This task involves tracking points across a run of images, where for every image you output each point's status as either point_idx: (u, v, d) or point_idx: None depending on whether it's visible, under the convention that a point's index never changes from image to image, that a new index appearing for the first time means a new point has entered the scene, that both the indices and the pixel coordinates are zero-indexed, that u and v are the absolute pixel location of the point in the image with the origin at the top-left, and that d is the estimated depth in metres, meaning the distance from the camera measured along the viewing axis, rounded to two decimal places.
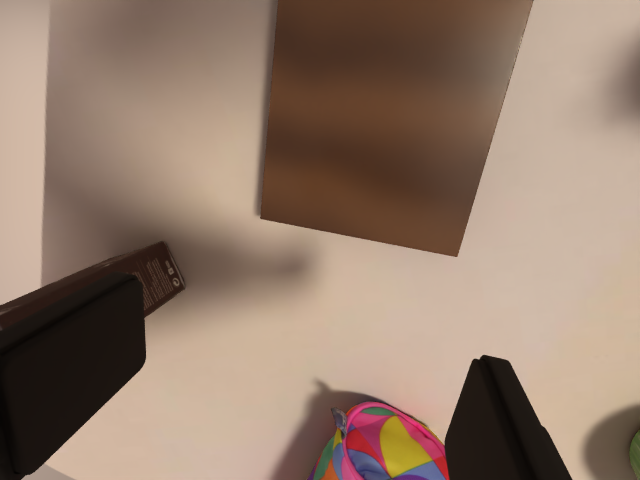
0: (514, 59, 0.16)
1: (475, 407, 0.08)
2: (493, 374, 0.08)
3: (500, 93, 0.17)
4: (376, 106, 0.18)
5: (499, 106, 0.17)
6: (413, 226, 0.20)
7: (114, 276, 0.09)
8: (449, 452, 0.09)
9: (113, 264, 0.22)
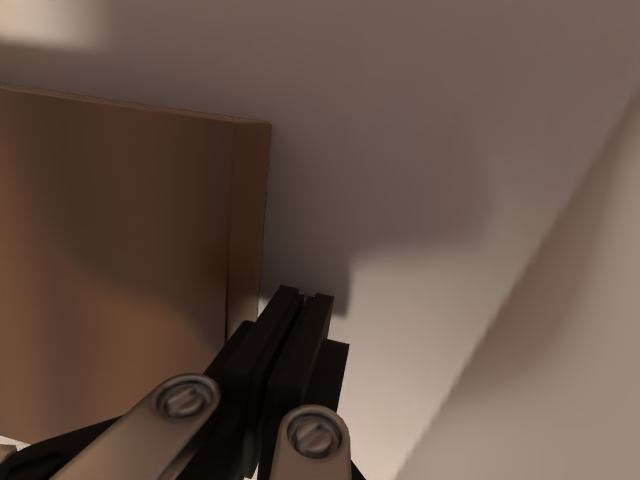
0: None
1: None
2: (312, 304, 0.09)
3: None
4: None
5: None
6: None
7: (285, 290, 0.10)
8: None
9: None
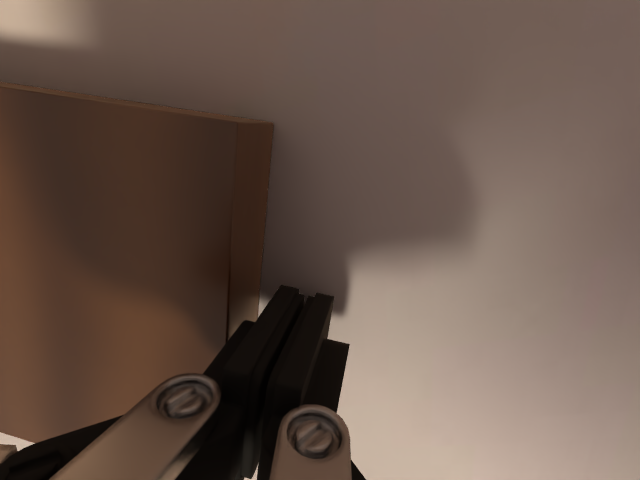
0: None
1: None
2: (312, 304, 0.09)
3: None
4: None
5: None
6: None
7: (285, 290, 0.10)
8: None
9: None
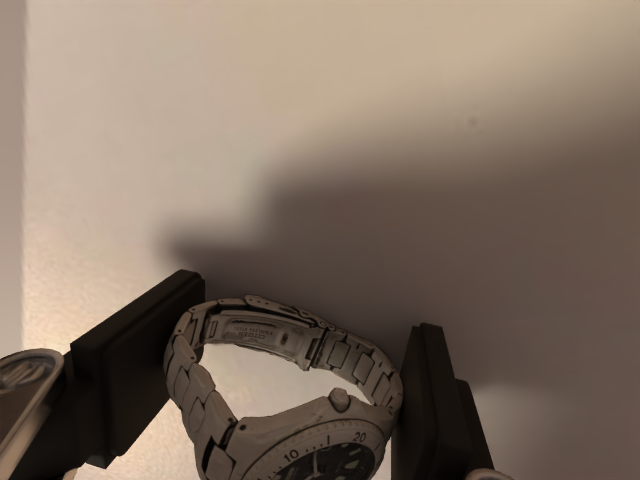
0: None
1: (409, 366, 0.09)
2: (424, 337, 0.09)
3: None
4: None
5: None
6: None
7: (181, 274, 0.10)
8: None
9: None
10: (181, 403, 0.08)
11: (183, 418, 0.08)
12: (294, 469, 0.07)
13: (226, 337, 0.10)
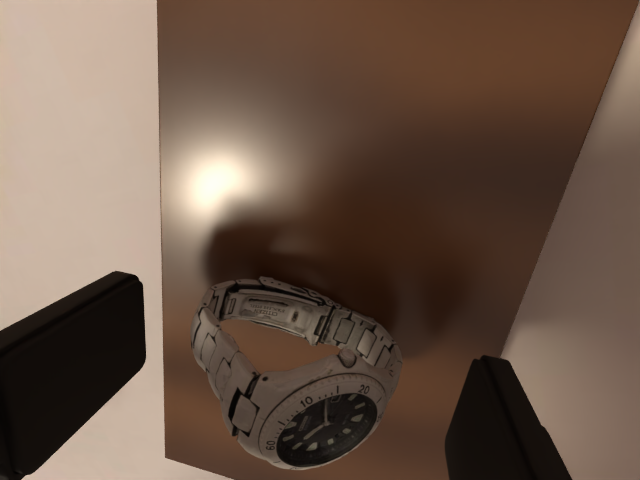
0: (162, 268, 0.13)
1: (475, 407, 0.08)
2: (493, 374, 0.08)
3: (166, 230, 0.12)
4: (338, 225, 0.11)
5: (163, 213, 0.12)
6: None
7: (114, 276, 0.09)
8: (449, 452, 0.09)
9: None
10: (208, 365, 0.09)
11: (210, 378, 0.09)
12: (308, 417, 0.08)
13: (243, 314, 0.11)
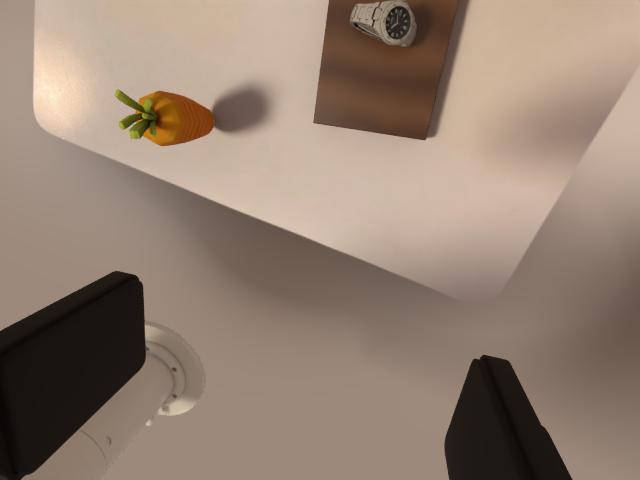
0: (327, 20, 0.34)
1: (475, 407, 0.08)
2: (493, 374, 0.08)
3: (331, 2, 0.33)
4: None
5: None
6: None
7: (114, 276, 0.09)
8: (449, 452, 0.09)
9: None
10: (361, 15, 0.30)
11: (362, 19, 0.30)
12: (392, 18, 0.29)
13: (361, 24, 0.33)
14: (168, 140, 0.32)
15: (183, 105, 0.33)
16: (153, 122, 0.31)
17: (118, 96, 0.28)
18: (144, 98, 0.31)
